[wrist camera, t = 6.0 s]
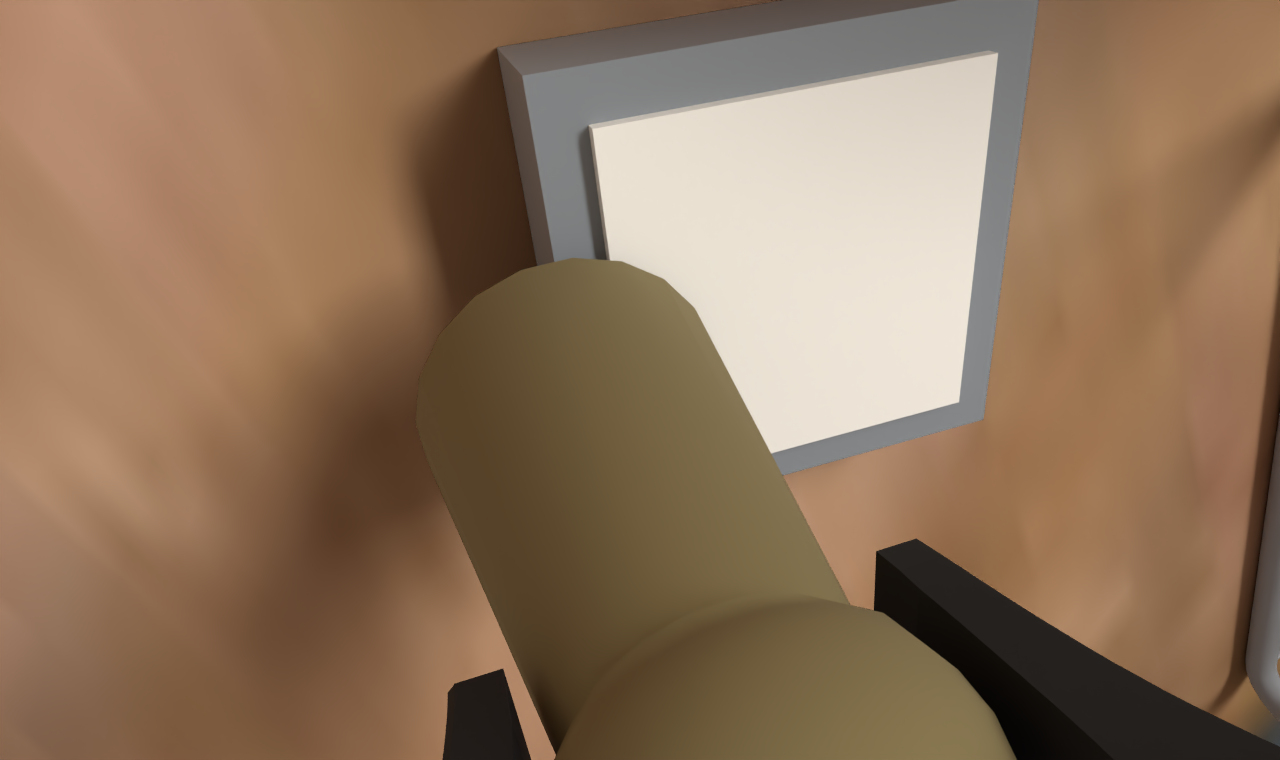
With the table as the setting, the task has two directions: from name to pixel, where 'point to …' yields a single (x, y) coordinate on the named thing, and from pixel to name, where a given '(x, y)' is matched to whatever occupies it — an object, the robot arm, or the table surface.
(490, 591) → the cork
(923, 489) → the table surface
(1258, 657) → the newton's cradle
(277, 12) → the table surface
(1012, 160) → the plinth
